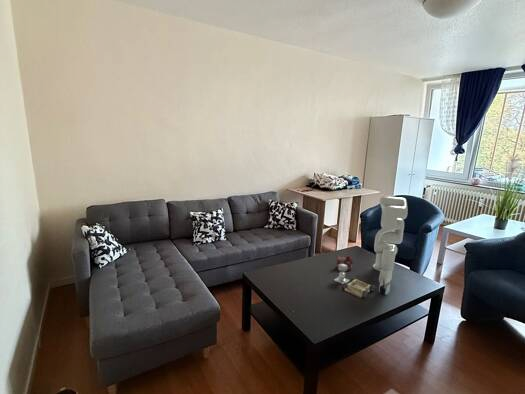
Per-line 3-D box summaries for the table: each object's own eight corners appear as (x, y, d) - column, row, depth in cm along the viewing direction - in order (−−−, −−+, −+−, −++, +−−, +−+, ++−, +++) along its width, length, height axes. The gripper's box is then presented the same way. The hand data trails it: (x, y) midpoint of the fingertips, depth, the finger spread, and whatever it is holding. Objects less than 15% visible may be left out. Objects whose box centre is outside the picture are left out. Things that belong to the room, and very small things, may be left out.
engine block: (382, 289, 188) (383, 280, 187) (389, 292, 184) (390, 283, 183) (378, 291, 185) (379, 283, 183) (386, 295, 181) (387, 286, 180)
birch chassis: (353, 281, 198) (354, 275, 197) (375, 290, 187) (376, 284, 186) (341, 289, 187) (342, 283, 186) (364, 299, 176) (364, 293, 175)
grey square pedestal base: (339, 276, 204) (340, 269, 202) (349, 280, 198) (350, 273, 197) (333, 280, 198) (334, 272, 197) (343, 284, 193) (344, 276, 191)
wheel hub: (341, 266, 200) (341, 262, 200) (348, 269, 196) (349, 265, 195) (336, 269, 196) (337, 265, 196) (344, 272, 192) (344, 268, 191)
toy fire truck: (353, 271, 213) (354, 258, 211) (336, 269, 215) (337, 257, 213) (351, 267, 220) (352, 254, 218) (335, 265, 222) (336, 253, 219)
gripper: (386, 260, 189) (384, 284, 193) (375, 268, 177) (372, 293, 181) (398, 264, 184) (395, 288, 188) (387, 272, 172) (384, 298, 176)
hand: (384, 290), depth 184 cm, fingers open, 5 cm apart
